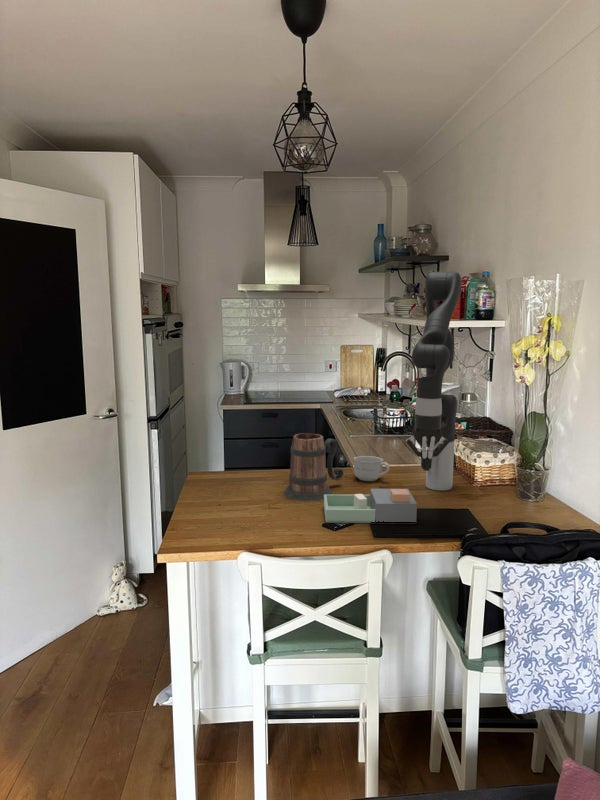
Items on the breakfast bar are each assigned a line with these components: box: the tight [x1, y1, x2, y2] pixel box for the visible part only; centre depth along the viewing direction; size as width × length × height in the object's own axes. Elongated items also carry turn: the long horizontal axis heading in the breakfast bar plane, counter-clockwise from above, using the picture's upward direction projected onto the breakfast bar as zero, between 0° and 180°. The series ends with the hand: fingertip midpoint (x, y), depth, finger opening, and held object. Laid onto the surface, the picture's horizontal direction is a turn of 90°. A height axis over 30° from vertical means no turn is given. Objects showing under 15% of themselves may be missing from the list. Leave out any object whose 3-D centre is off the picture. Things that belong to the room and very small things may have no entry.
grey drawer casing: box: [369, 488, 418, 523], centre depth 176 cm, size 14×12×6 cm
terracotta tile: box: [389, 488, 410, 503], centre depth 172 cm, size 5×5×2 cm
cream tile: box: [353, 493, 367, 509], centre depth 177 cm, size 5×5×2 cm
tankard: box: [282, 432, 344, 502], centre depth 197 cm, size 24×17×20 cm
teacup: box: [353, 455, 390, 482], centre depth 211 cm, size 14×11×8 cm
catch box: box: [323, 494, 376, 524], centre depth 176 cm, size 14×15×4 cm
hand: (425, 469), depth 171 cm, fingers closed
